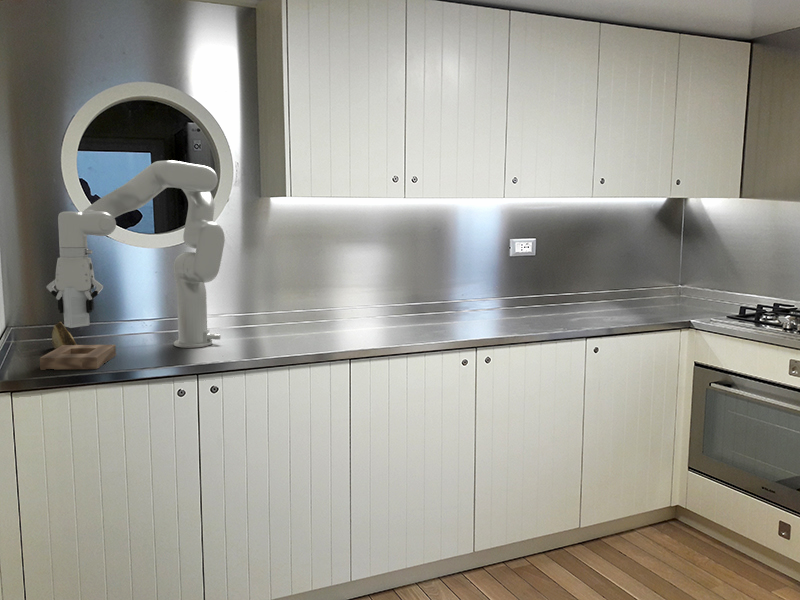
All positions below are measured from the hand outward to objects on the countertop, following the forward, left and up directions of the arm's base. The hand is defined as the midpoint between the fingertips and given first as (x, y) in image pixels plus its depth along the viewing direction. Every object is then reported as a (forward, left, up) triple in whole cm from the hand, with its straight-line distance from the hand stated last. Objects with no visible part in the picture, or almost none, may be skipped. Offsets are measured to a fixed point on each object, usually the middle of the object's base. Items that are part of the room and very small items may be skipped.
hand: (76, 312), depth 213 cm
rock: (+11, -19, -16) cm, 27 cm away
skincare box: (0, 0, -4) cm, 4 cm away
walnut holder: (0, 0, -15) cm, 15 cm away
